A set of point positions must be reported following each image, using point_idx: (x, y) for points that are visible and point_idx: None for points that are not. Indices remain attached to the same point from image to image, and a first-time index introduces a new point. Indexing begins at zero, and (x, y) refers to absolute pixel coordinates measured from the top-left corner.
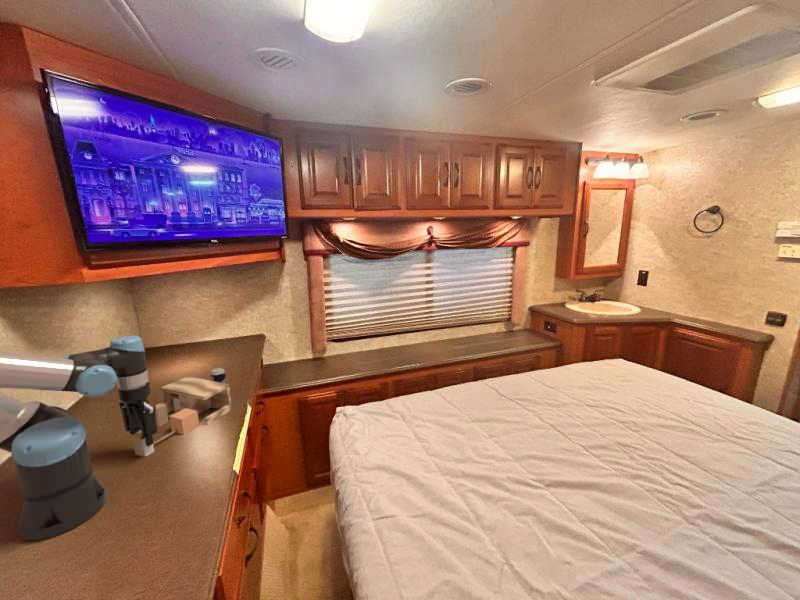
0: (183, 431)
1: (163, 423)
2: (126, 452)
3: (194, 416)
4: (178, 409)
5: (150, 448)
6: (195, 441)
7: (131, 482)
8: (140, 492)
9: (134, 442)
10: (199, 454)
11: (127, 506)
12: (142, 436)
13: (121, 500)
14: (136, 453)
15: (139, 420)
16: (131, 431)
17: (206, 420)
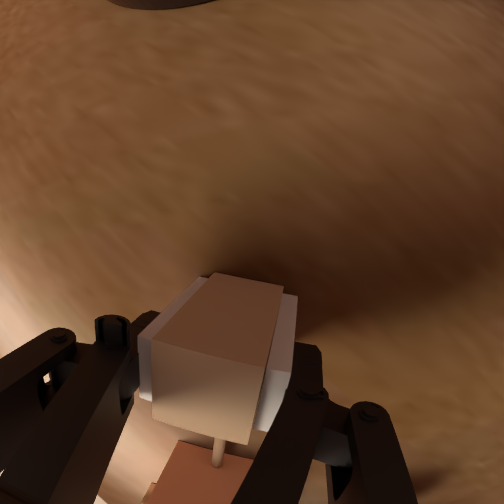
0: (172, 453)
1: None
2: (362, 295)
3: None
4: None
5: None
6: None
7: (89, 93)
8: (26, 77)
9: (258, 323)
10: (11, 309)
11: (26, 27)
12: (155, 356)
13: (56, 26)
14: (269, 286)
15: (35, 472)
16: (294, 402)
17: (147, 497)
